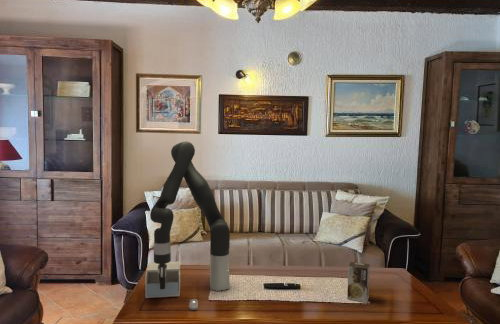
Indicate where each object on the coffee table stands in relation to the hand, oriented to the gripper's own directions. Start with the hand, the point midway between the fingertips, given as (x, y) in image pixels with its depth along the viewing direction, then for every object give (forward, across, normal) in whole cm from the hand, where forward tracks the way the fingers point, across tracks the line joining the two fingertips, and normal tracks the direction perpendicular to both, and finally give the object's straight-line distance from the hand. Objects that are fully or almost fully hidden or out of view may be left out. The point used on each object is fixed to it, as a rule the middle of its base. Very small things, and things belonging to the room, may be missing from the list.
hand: (162, 288), depth 176 cm
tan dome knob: (+3, +8, 0) cm, 9 cm away
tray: (+4, +9, 0) cm, 10 cm away
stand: (+6, -10, -14) cm, 18 cm away
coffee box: (+6, -11, -90) cm, 91 cm away
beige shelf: (+5, +11, 0) cm, 12 cm away
